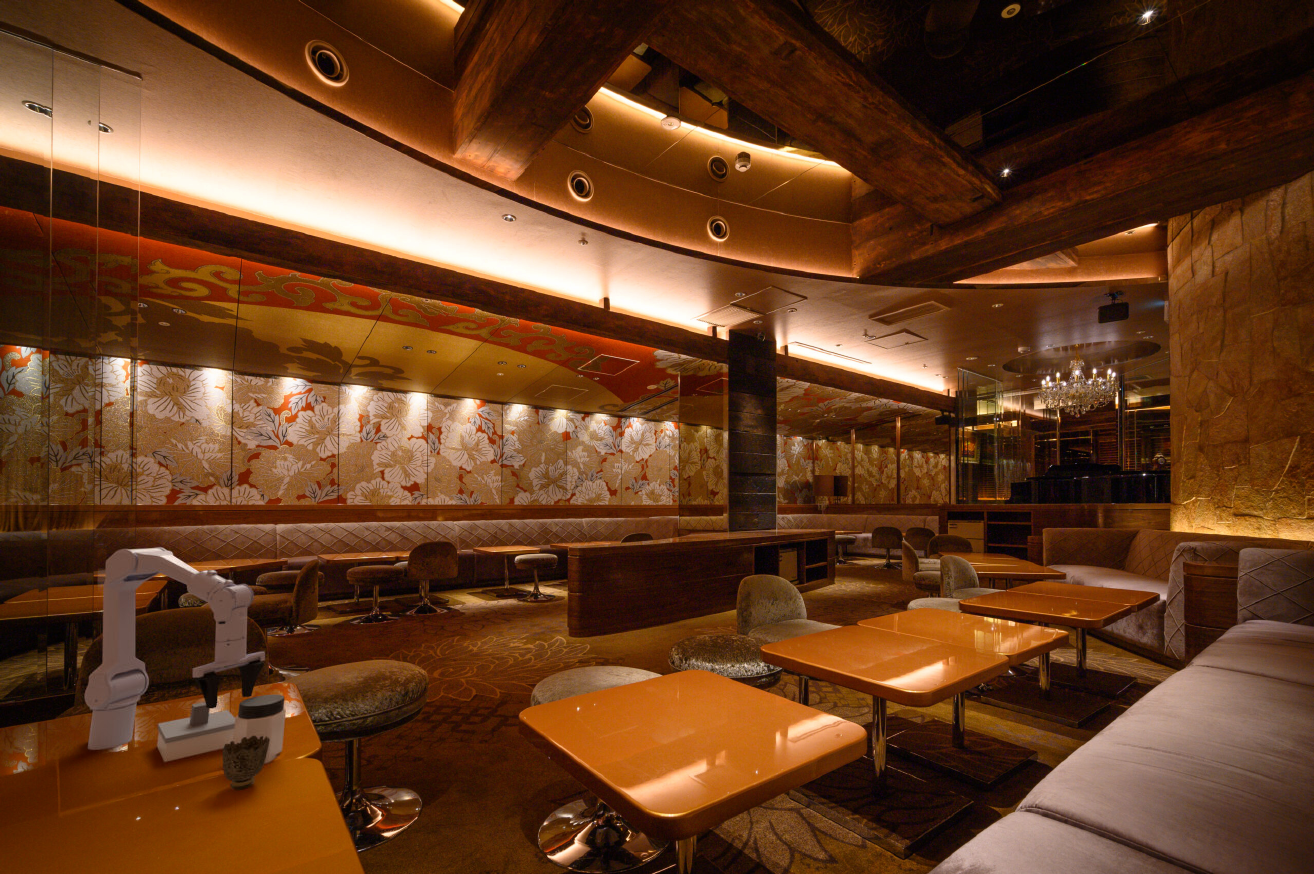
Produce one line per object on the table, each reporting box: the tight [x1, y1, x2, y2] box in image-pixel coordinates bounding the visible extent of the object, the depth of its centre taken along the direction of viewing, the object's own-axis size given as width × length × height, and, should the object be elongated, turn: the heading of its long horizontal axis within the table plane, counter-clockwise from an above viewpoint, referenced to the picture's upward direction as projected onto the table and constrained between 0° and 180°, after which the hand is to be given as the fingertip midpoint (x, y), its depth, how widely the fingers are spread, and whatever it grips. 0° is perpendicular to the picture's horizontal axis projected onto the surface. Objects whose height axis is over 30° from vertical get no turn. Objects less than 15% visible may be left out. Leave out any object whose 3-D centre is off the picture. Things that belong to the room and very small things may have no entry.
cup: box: [222, 735, 270, 791], centre depth 108 cm, size 8×7×8 cm
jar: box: [233, 694, 287, 765], centre depth 121 cm, size 9×8×12 cm
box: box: [156, 729, 234, 763], centre depth 125 cm, size 12×12×4 cm
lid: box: [157, 701, 236, 744], centre depth 126 cm, size 13×13×5 cm
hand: (229, 701), depth 126 cm, fingers open, 7 cm apart
